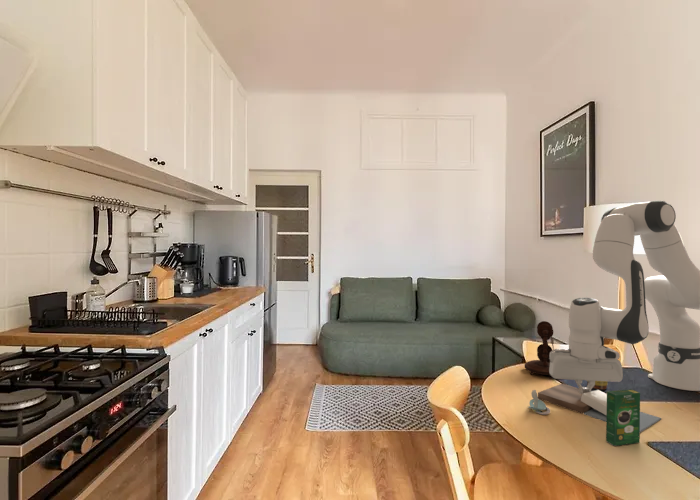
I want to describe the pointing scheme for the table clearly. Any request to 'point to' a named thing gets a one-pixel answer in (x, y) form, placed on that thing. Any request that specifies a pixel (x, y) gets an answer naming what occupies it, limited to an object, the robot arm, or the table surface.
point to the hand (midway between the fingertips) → (584, 393)
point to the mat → (645, 418)
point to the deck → (565, 398)
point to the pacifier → (538, 404)
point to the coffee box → (623, 417)
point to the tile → (596, 400)
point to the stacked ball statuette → (542, 350)
